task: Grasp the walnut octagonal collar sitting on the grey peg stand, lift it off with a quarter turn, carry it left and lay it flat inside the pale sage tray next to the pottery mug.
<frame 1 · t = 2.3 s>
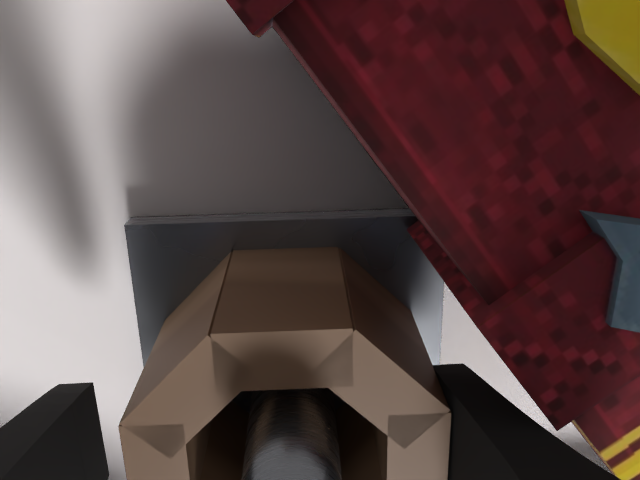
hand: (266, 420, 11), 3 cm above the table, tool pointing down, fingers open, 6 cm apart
collar: (290, 361, 13), resting on grey peg stand, touching gripper
grey peg stand: (293, 349, 14), on the table
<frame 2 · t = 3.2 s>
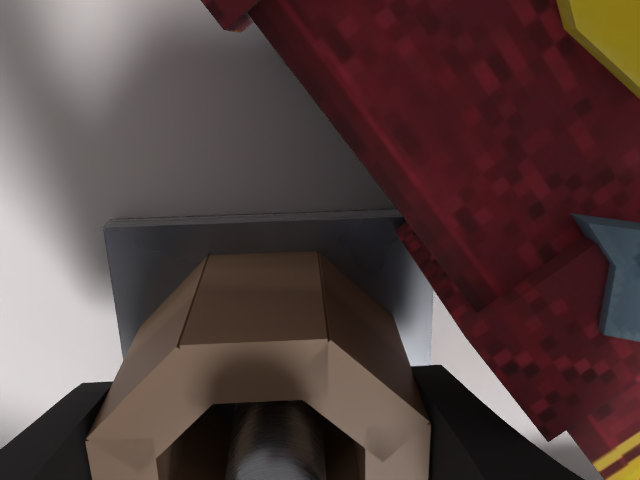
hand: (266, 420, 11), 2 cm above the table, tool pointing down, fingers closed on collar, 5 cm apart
collar: (270, 368, 13), resting on grey peg stand, touching gripper
grey peg stand: (279, 353, 13), on the table
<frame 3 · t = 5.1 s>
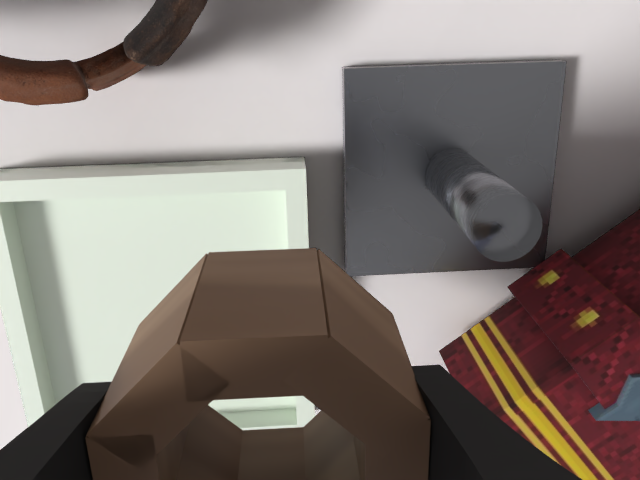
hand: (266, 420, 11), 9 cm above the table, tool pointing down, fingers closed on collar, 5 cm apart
tray: (168, 301, 20), on the table
collar: (269, 365, 13), point 7 cm above the table, touching gripper
grey peg stand: (446, 170, 19), on the table
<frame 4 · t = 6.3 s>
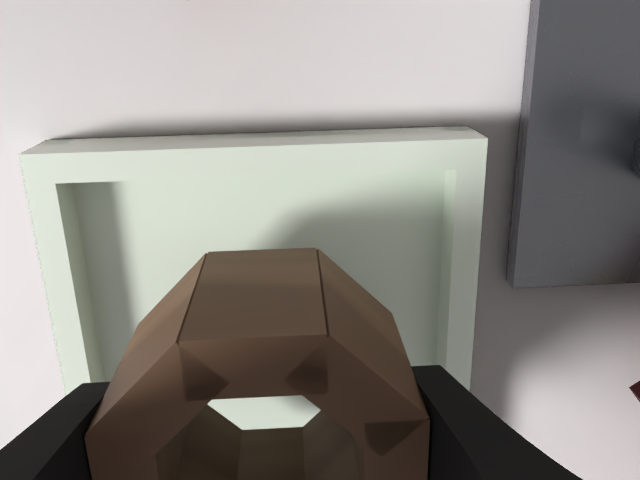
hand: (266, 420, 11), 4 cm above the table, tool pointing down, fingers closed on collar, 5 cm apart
tray: (270, 320, 15), on the table
collar: (268, 364, 13), point 2 cm above the table, touching gripper
when the fingers open (4 cm above the table, at t = 7.3 s): collar drops 1 cm, resting on tray.
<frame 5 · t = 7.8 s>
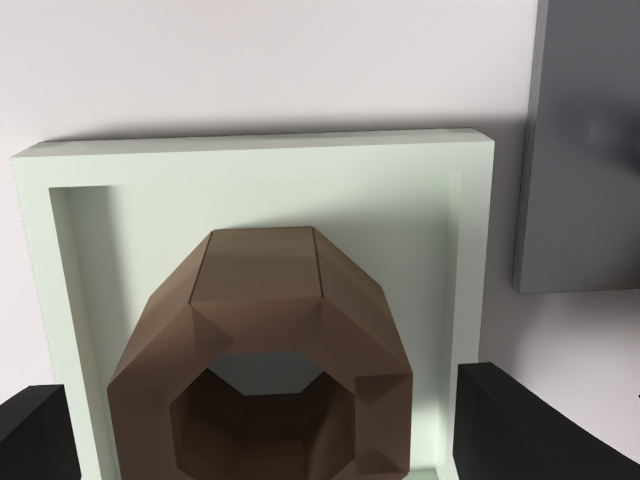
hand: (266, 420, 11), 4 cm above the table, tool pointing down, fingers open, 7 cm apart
tray: (270, 326, 15), on the table
collar: (269, 334, 14), point 1 cm above the table, touching tray
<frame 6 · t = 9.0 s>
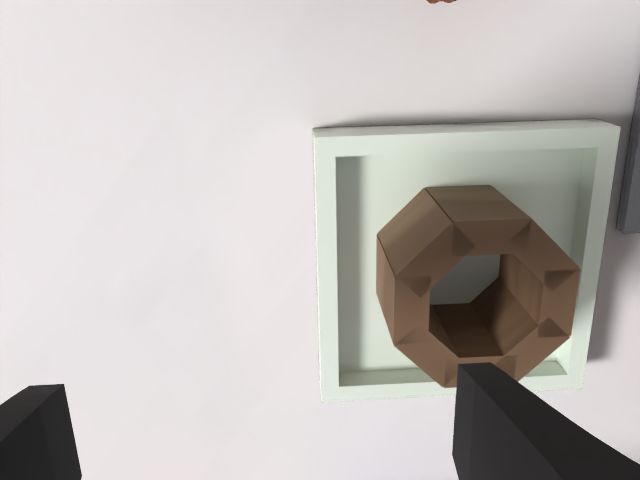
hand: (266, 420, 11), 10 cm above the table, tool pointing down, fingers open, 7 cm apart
tray: (448, 257, 21), on the table
collar: (453, 260, 21), point 1 cm above the table, touching tray
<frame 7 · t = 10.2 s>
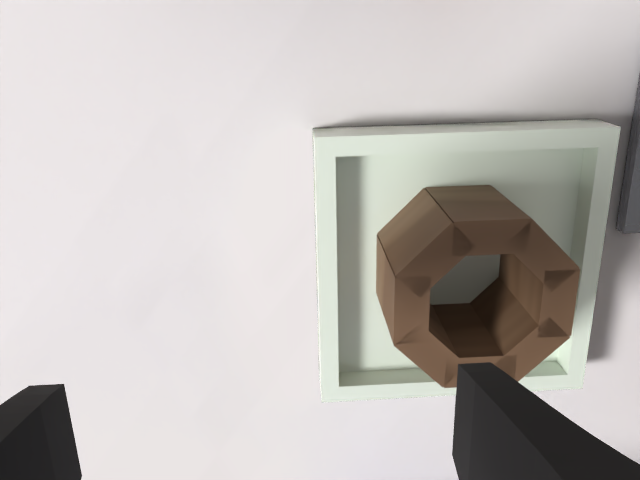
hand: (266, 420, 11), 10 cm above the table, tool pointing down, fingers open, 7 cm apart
tray: (449, 257, 21), on the table
collar: (453, 260, 21), point 1 cm above the table, touching tray
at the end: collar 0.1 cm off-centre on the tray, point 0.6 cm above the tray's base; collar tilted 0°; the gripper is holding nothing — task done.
